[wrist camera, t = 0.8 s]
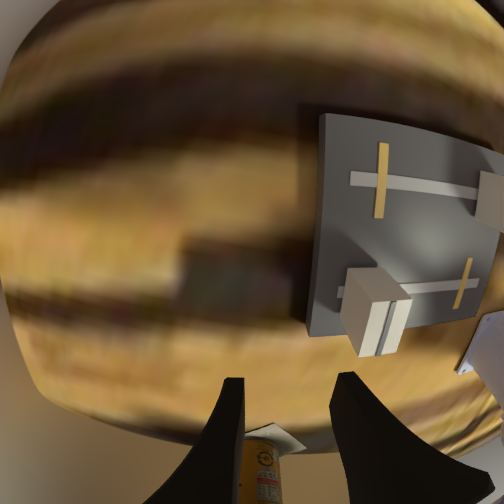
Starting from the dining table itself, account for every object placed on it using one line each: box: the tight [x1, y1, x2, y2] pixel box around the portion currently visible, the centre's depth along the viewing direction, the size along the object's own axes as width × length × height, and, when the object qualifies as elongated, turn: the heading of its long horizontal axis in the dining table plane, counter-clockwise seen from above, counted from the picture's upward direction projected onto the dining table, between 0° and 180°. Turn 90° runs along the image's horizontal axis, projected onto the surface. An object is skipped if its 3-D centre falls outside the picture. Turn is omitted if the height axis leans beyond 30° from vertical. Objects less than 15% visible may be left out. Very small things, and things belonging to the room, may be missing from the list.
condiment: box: [239, 424, 306, 504], centre depth 20 cm, size 7×8×12 cm
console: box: [305, 113, 504, 337], centre depth 16 cm, size 16×14×2 cm
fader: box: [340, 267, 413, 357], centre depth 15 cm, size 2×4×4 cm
